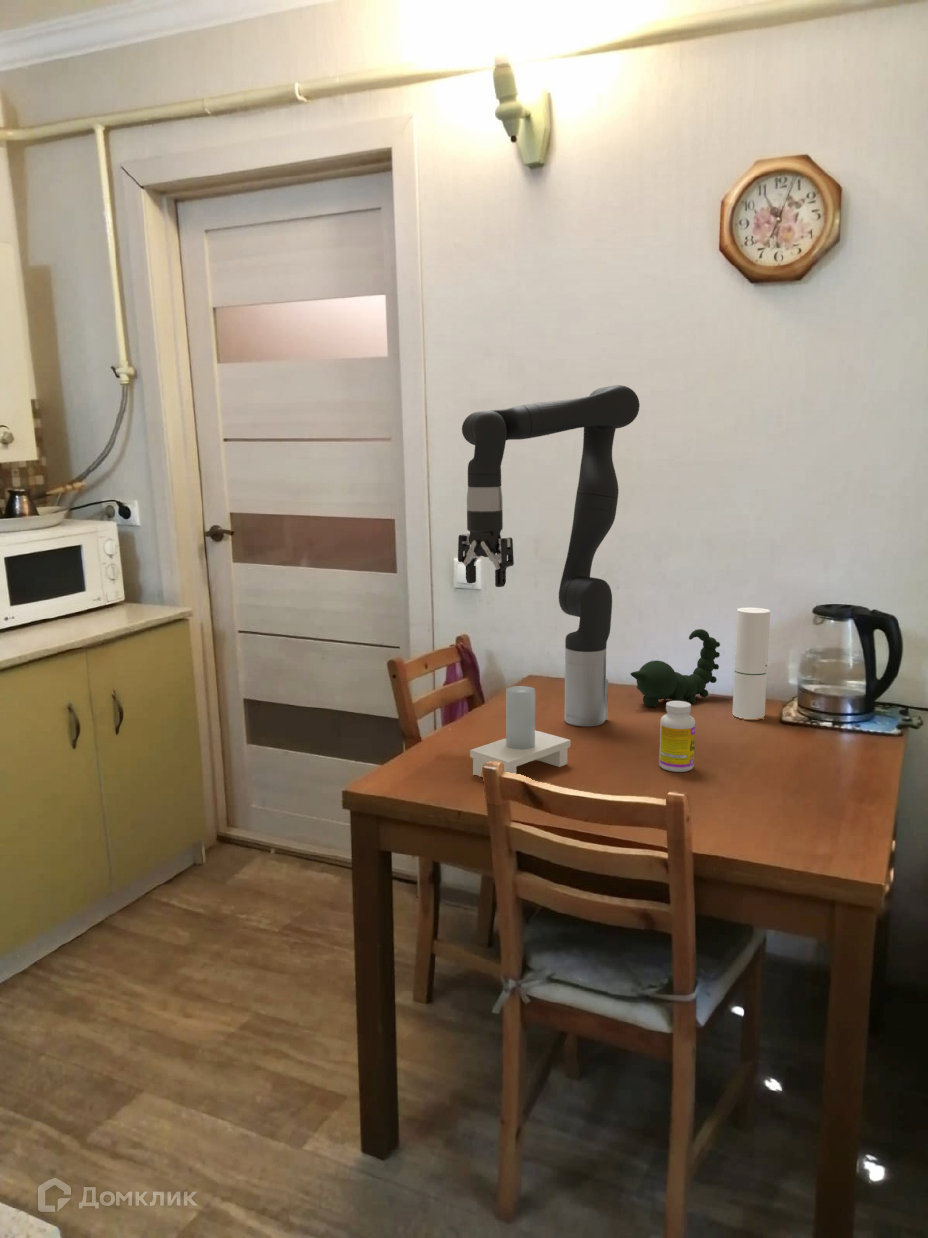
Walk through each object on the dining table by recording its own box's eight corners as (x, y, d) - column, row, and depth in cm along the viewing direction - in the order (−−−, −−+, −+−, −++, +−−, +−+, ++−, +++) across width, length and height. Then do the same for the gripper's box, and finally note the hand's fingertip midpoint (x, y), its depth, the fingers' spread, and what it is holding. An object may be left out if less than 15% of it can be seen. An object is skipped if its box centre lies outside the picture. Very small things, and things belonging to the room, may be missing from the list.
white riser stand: (532, 752, 190) (532, 729, 189) (570, 764, 183) (570, 740, 182) (470, 774, 177) (470, 750, 176) (508, 788, 170) (508, 762, 169)
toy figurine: (696, 699, 235) (615, 703, 224) (705, 625, 232) (623, 626, 221) (722, 708, 226) (639, 712, 215) (730, 632, 224) (647, 632, 213)
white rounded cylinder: (520, 738, 183) (519, 684, 181) (541, 744, 179) (541, 689, 177) (500, 744, 179) (499, 690, 177) (521, 751, 175) (521, 695, 173)
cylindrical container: (768, 715, 215) (773, 609, 210) (759, 722, 209) (765, 614, 204) (737, 710, 218) (742, 606, 214) (728, 718, 212) (733, 611, 208)
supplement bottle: (694, 774, 176) (696, 709, 174) (659, 772, 178) (661, 707, 175) (693, 762, 183) (695, 700, 181) (659, 760, 184) (660, 698, 182)
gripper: (521, 508, 191) (522, 586, 194) (473, 506, 201) (474, 579, 204) (496, 510, 186) (497, 590, 189) (448, 508, 196) (449, 583, 199)
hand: (485, 584), depth 197 cm, fingers open, 8 cm apart
